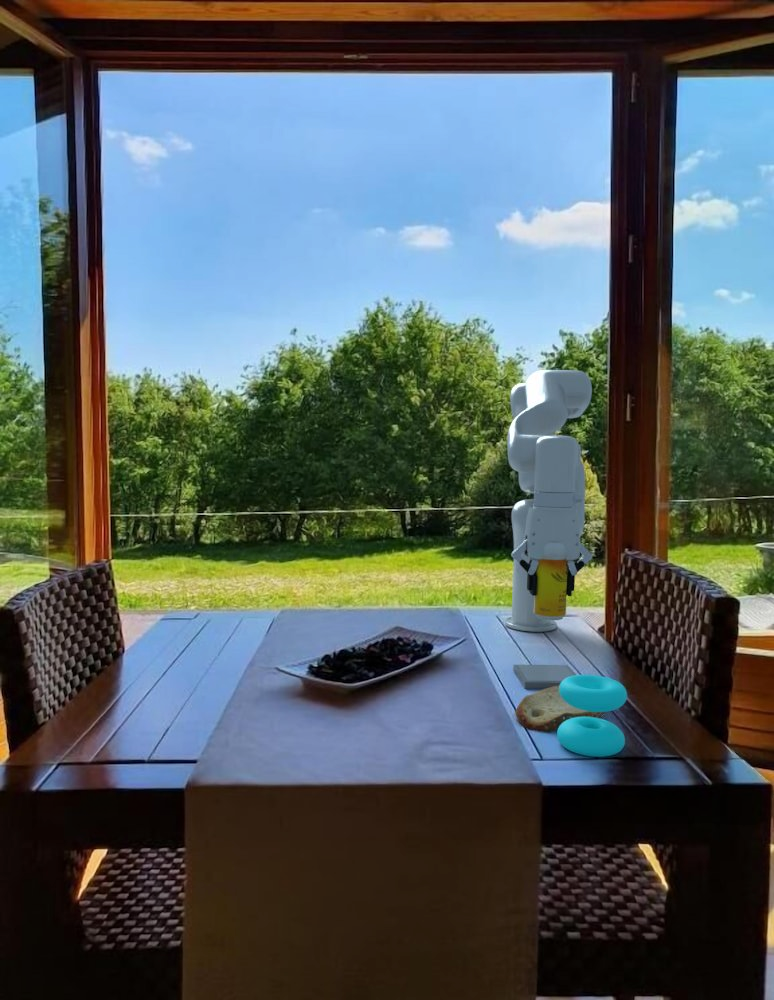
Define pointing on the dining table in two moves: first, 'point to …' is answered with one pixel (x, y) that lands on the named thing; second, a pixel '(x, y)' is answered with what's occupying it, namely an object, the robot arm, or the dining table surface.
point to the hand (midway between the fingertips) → (550, 593)
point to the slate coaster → (542, 675)
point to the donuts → (590, 731)
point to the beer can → (551, 583)
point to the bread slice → (548, 711)
